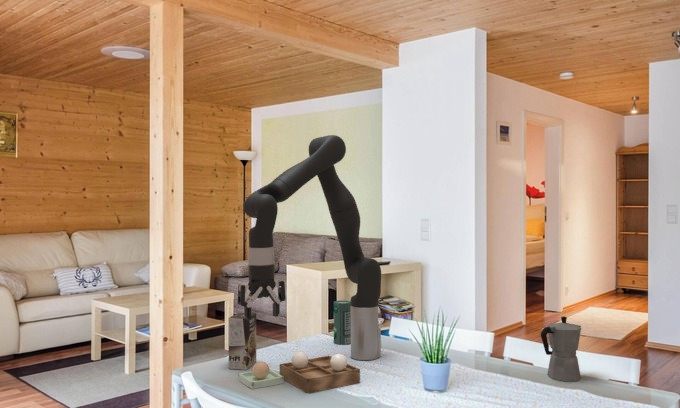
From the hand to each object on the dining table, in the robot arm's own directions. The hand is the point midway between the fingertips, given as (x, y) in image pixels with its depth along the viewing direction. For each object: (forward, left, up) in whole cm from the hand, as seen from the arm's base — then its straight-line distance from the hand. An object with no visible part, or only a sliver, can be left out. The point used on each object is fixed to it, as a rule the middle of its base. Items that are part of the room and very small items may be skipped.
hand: (262, 318), depth 174 cm
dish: (+1, 0, -18) cm, 18 cm away
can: (-43, -25, -19) cm, 53 cm away
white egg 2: (-18, +13, -13) cm, 26 cm away
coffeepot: (-75, +45, -19) cm, 90 cm away
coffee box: (-1, -18, -19) cm, 26 cm away
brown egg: (+1, 0, -15) cm, 15 cm away
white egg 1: (-10, +4, -13) cm, 17 cm away
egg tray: (-14, +8, -18) cm, 25 cm away
